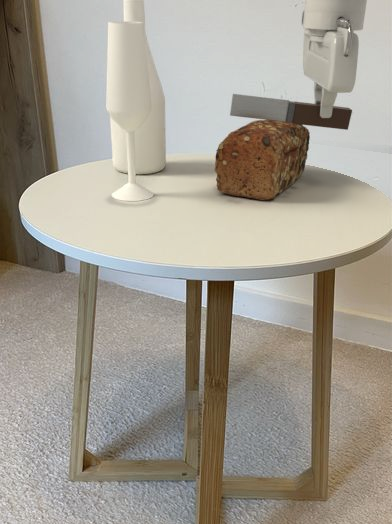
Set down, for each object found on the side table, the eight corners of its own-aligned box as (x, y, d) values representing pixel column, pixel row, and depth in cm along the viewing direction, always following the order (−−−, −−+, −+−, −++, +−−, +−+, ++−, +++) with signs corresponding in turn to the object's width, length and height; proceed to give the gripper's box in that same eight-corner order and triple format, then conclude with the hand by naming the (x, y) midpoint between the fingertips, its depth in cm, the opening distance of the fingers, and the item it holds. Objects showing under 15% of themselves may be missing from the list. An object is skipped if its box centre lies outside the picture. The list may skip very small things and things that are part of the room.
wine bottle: (165, 161, 113) (162, -26, 97) (166, 175, 105) (163, -27, 89) (114, 162, 112) (103, -27, 97) (111, 175, 104) (99, -29, 88)
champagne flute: (121, 186, 98) (112, 20, 86) (159, 190, 97) (156, 21, 84) (104, 198, 93) (92, 22, 80) (145, 202, 91) (139, 24, 79)
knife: (344, 127, 98) (349, 106, 96) (347, 129, 96) (352, 108, 94) (229, 114, 96) (232, 92, 94) (230, 116, 94) (233, 95, 92)
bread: (273, 204, 92) (279, 136, 87) (210, 194, 96) (212, 128, 90) (308, 175, 106) (314, 115, 101) (252, 167, 110) (255, 109, 105)
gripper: (375, 19, 80) (359, 128, 87) (338, 13, 97) (327, 104, 104) (328, 19, 79) (316, 128, 87) (300, 12, 97) (291, 104, 104)
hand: (322, 115), depth 96 cm, fingers closed on knife, 2 cm apart
